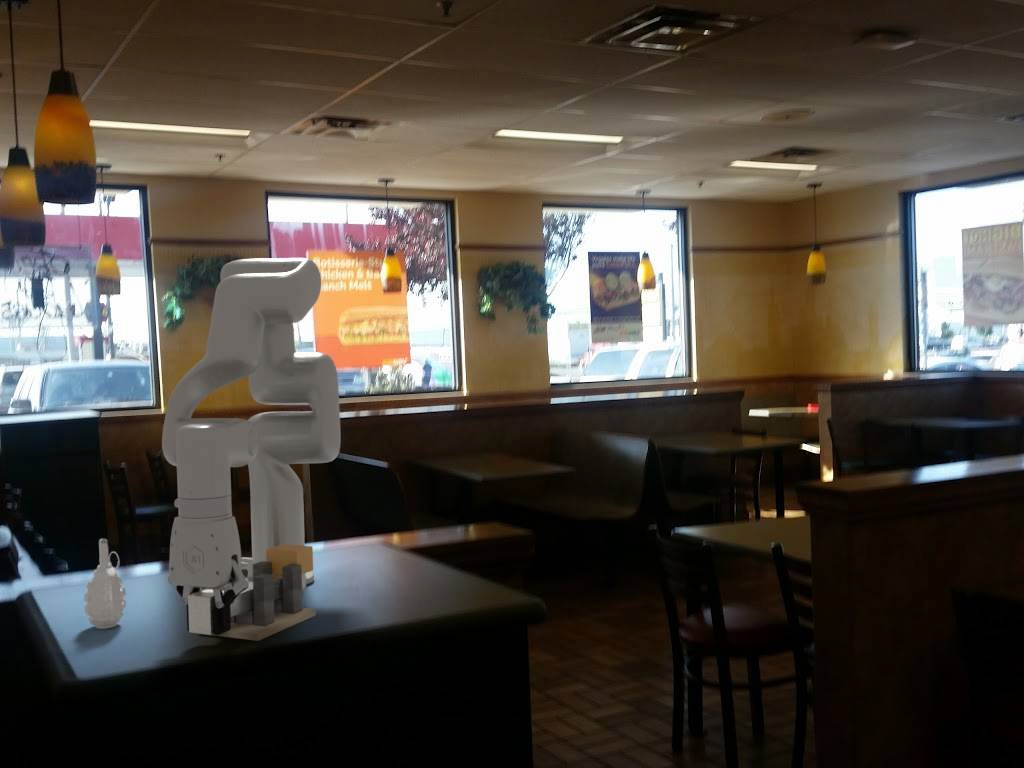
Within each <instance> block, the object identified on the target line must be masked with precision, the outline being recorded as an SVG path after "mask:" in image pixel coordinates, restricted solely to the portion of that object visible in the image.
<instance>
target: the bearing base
mask: <svg viewBox="0 0 1024 768" xmlns="http://www.w3.org/2000/svg"><path fill="white" fill-rule="evenodd" d="M242 573H243V571H242ZM243 574H244V573H243ZM282 578H283V597H281V598H278V599H276V600H274V588H273V575H272V562H265V561H261V562H258V563H255V564H253V599H254V608H253V609H250V610H248V611H245V612H243V613H240V614H238V615H235V616H233V617H231V629H230V630H229V631H227V632H225V633H222V634H220V635H214V634H212V635H211V636H218V637H223V638H224V637H225V638H233V639H240V640H241V639H242V640H248V641H249V640H250V641H257V642H258V641H261V640H263V639H265V638H268V637H270V636H272V635H275V634H277V633H279V632H282V631H283V630H285V629H289V628H291V627H293V626H295V625H297V624H299V623H301V622H304V621H306V620H308V619H311V618H313V617H315V616H316V615H317V612H316V610H317V609H314V608H307V607H305V608H304V607H303V589H302V570H301V565H300V564H289V565H286V566H283V567H282ZM231 585H232V587H233V586H234V583H231ZM222 591H224V590H223V589H222Z"/></svg>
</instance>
